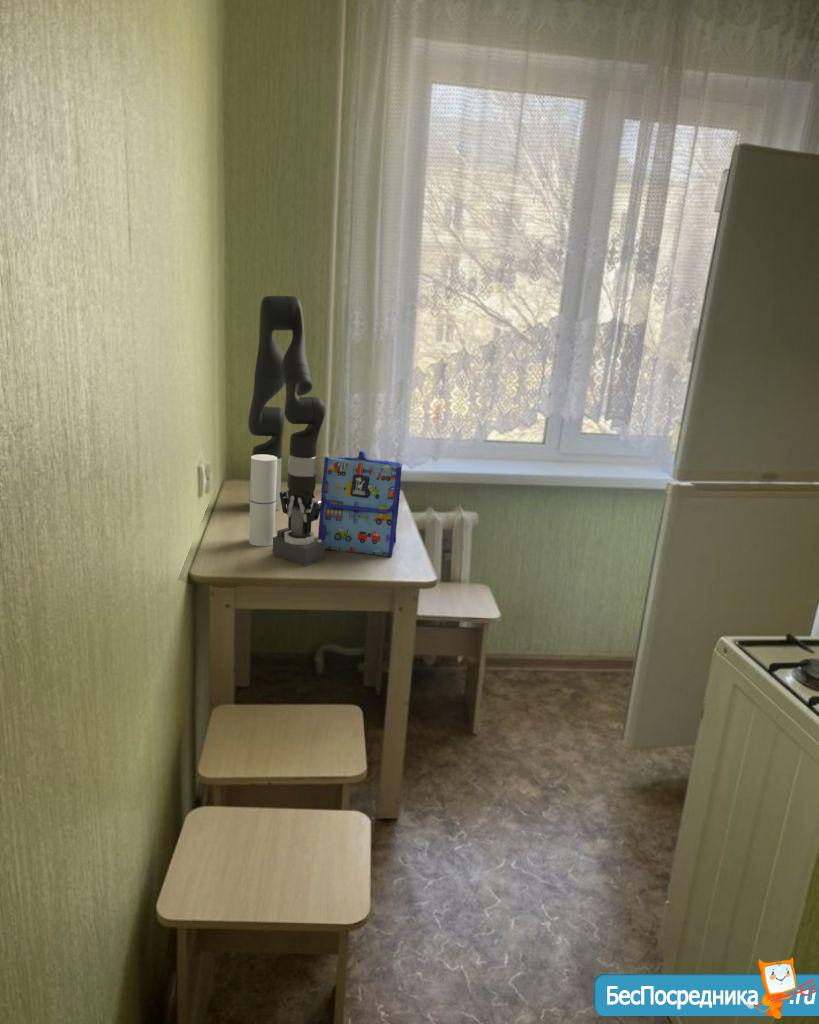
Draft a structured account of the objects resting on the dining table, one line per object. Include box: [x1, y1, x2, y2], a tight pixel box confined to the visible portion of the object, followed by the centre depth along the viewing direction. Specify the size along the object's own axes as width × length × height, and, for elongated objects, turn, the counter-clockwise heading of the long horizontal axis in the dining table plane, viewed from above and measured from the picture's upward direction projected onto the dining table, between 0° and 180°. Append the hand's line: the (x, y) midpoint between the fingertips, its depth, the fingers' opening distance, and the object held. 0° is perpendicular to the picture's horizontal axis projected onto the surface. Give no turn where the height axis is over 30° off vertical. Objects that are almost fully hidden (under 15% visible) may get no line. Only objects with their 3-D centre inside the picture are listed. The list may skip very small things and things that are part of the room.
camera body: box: [271, 527, 326, 567], centre depth 209 cm, size 12×8×7 cm, turn 56°
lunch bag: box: [317, 449, 403, 557], centre depth 218 cm, size 22×14×29 cm, turn 87°
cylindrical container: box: [248, 454, 277, 547], centre depth 215 cm, size 7×7×25 cm
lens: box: [291, 506, 308, 538], centre depth 207 cm, size 4×4×9 cm
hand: (299, 531), depth 208 cm, fingers closed on lens, 4 cm apart
